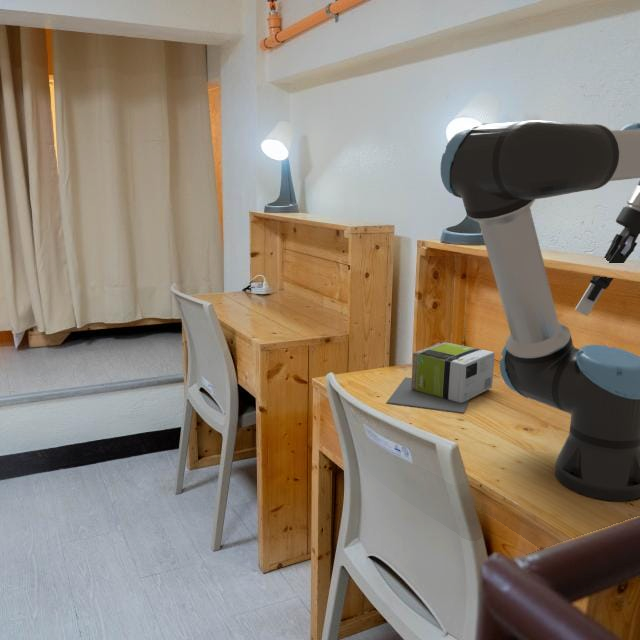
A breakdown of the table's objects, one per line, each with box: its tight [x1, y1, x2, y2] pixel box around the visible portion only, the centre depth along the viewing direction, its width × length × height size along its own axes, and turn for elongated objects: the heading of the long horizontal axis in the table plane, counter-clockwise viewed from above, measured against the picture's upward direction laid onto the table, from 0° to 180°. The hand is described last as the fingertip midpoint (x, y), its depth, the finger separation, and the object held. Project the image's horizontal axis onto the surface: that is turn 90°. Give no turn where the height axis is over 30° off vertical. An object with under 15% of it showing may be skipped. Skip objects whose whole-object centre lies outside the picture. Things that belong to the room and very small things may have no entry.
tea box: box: [411, 341, 495, 403], centre depth 157 cm, size 15×10×15 cm
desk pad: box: [386, 377, 470, 414], centre depth 155 cm, size 20×18×1 cm
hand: (581, 312), depth 135 cm, fingers closed
